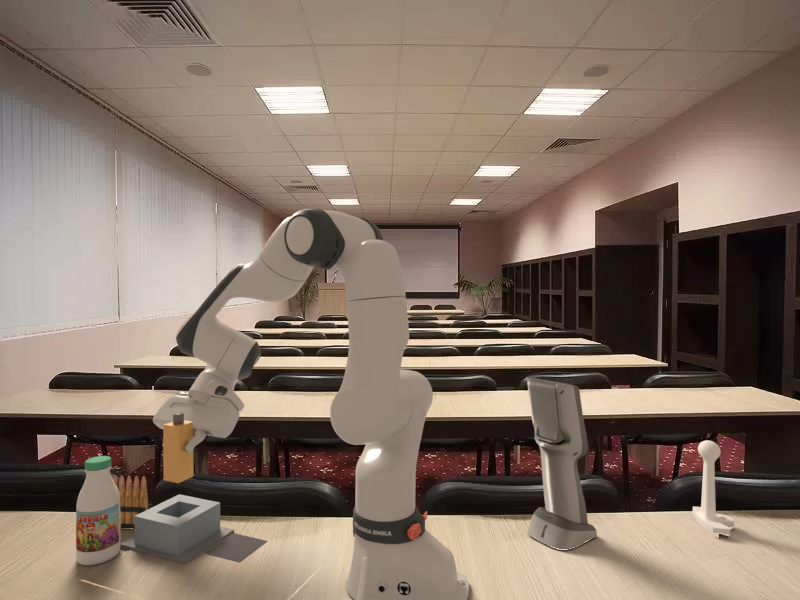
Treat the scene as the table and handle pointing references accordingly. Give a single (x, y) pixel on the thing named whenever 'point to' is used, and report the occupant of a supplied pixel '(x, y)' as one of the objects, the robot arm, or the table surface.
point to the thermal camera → (559, 464)
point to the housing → (178, 529)
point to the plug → (177, 450)
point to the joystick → (710, 492)
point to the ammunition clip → (131, 500)
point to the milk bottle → (98, 514)
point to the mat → (236, 547)
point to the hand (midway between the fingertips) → (176, 449)
